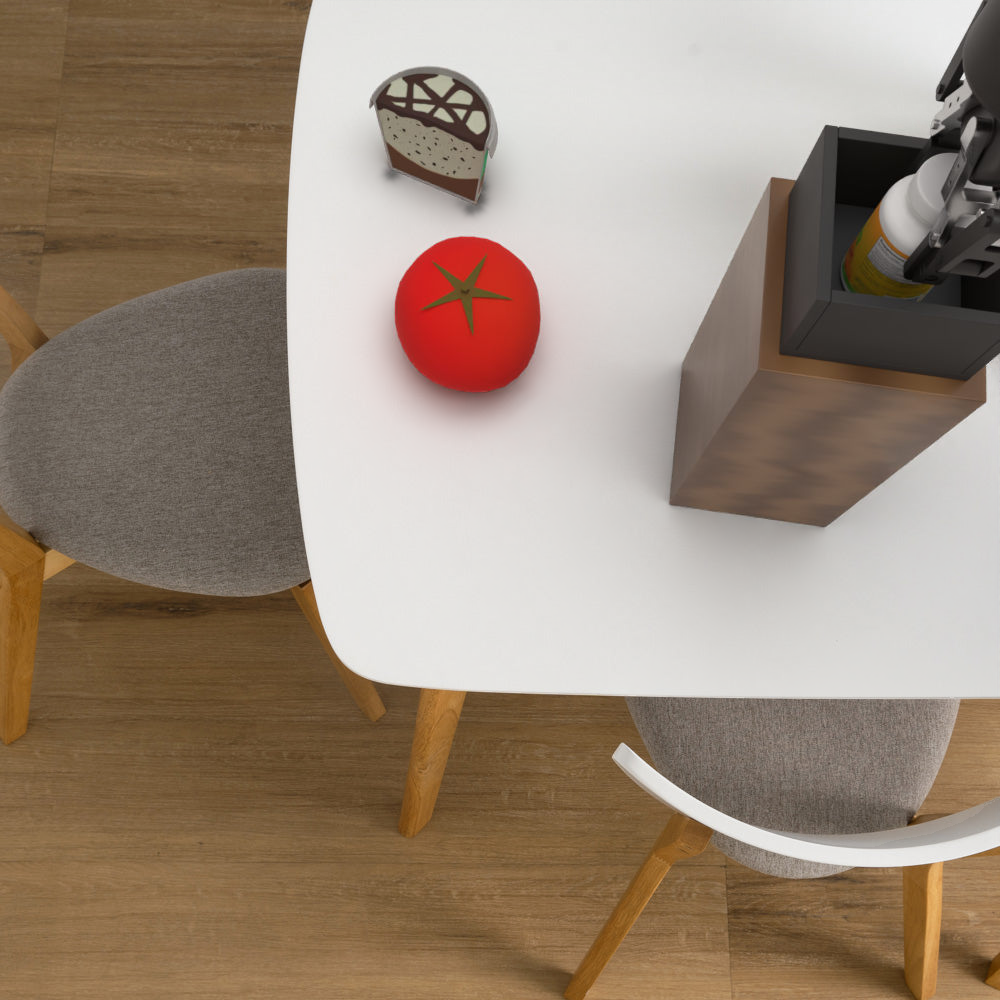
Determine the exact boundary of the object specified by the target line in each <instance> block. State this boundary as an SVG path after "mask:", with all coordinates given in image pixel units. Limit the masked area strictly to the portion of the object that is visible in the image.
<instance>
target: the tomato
mask: <svg viewBox="0 0 1000 1000" xmlns="http://www.w3.org/2000/svg"><path fill="white" fill-rule="evenodd" d="M541 316H542V315H541V302H540V296H539V289H538V286H537V283H536V281H535V279H534V276H533V273H532V271H531V270H530V269H529V268H528V266H527V265H526V264H525V263H524V261H522V259H520V258H519V257H518V256H517V255H515V254H514V253H513V252H512V251H511V250H510V249H508V248H506V247H505V246H503V245H502V244H500V243H499V242H496V241H494V240H491V239H489V238H485V237H479V236H462V235H460V236H456V237H455V236H454V237H448V238H445V239H443V240H441V241H438V242H435V244H433V245H431V246H429V247H428V248H427V249H426V250H424V251H423V252H422V253H421V254H420V255H419V256H418V257H416V258H415V260H414V261H413V262H412V263H411V264H410V266H409V267H408V268H407V269H406V270H405V272H404V275H403V276H402V278H401V279H400V281H399V284H398V287H397V290H396V294H395V299H394V325H395V329H396V334H397V338H398V340H399V342H400V345H401V348H402V349H403V352H404V354H405V355H406V357H407V358H408V360H409V361H410V363H411V364H412V365H413V367H414V368H415V369H416V370H417V371H418V372H419V373H420V374H421V375H422V376H424V377H425V378H427V379H428V380H429V381H431V382H433V383H434V384H436V385H439V386H442V387H444V388H446V389H450V390H453V391H454V390H455V391H458V392H464V393H465V392H466V393H488V392H491V391H495V390H499V389H501V388H505V387H506V386H508V385H510V384H511V383H512V382H514V381H515V380H517V379H518V378H519V377H520V376H521V375H522V374H523V372H524V371H525V370H526V369H527V368H528V366H529V364H530V362H531V360H532V357H533V356H534V354H535V350H536V346H537V343H538V340H539V337H540V331H541V330H540V329H541V320H542V319H541V318H542V317H541Z"/></svg>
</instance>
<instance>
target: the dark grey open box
mask: <svg viewBox="0 0 1000 1000" xmlns="http://www.w3.org/2000/svg"><path fill="white" fill-rule="evenodd" d="M928 140H929V138H927V137H926V138H925V137H919V136H913V135H905V134H898V133H889V132H883V131H875V130H870V129H869V130H868V129H861V128H854V127H846V126H838V125H832V124H831V125H830V124H825V125H824V126H823V129H822V130H821V132H820V134H819V136H818V137H817V140H816V141H815V144H814V146H813V147H812V150H811V151H810V153H809V155H808V157H807V159H806V160H805V163H804V165H803V167H802V169H801V170H800V172H799V174H798V176H797V178H796V179H795V180H796V182H795V184H794V186H793V188H792V190H791V192H790V194H789V203H788V219H787V235H786V251H785V268H784V284H783V300H782V317H781V333H780V349H779V354H781V355H788V356H795V357H802V358H809V359H816V360H823V361H830V362H837V363H844V364H851V365H858V366H865V367H873V368H880V369H887V370H894V371H901V372H908V373H915V374H922V375H929V376H936V377H943V378H950V379H957V380H964V381H968V380H969V379H970V378H971V377H973V375H975V374H976V373H977V372H978V371H980V370H981V369H982V368H983V367H984V366H986V367H987V365H988V364H990V363H991V361H993V360H994V359H995V358H997V356H998V355H1000V269H998V270H997V271H995V272H994V273H992V274H991V275H989V276H988V277H986V278H981V277H974V276H967V275H960V274H953V273H951V274H950V275H949V276H948V278H946V280H945V281H944V282H943V283H942V284H941V285H938V286H936V285H934V286H933V287H932V289H931V290H930V291H929V292H928V293H927V294H926V295H925V297H924V298H923V299H922V300H921V301H920V302H918V301H910V300H903V299H896V298H889V297H882V296H875V295H868V294H861V293H854V292H847V291H845V289H844V287H843V285H842V281H841V276H840V269H841V264H842V260H843V258H844V256H845V254H846V252H847V251H848V249H849V248H850V246H851V245H852V243H853V242H854V240H855V239H856V237H857V236H858V234H859V233H860V231H861V230H862V228H863V227H864V225H865V224H866V222H867V221H868V220H869V218H870V217H871V215H872V214H873V212H874V211H875V209H876V208H877V206H878V205H879V203H880V202H881V200H882V199H883V197H884V196H885V195H886V193H887V192H888V191H889V189H890V188H891V187H892V186H893V185H894V184H895V183H897V182H898V181H899V180H901V179H903V178H905V173H906V172H907V170H908V169H909V167H910V166H911V164H912V163H913V161H914V160H915V159H916V157H917V156H918V154H919V153H920V151H921V150H922V148H923V147H924V145H925V144H926V143H927V141H928ZM998 190H1000V188H996V187H992V191H998Z"/></svg>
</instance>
